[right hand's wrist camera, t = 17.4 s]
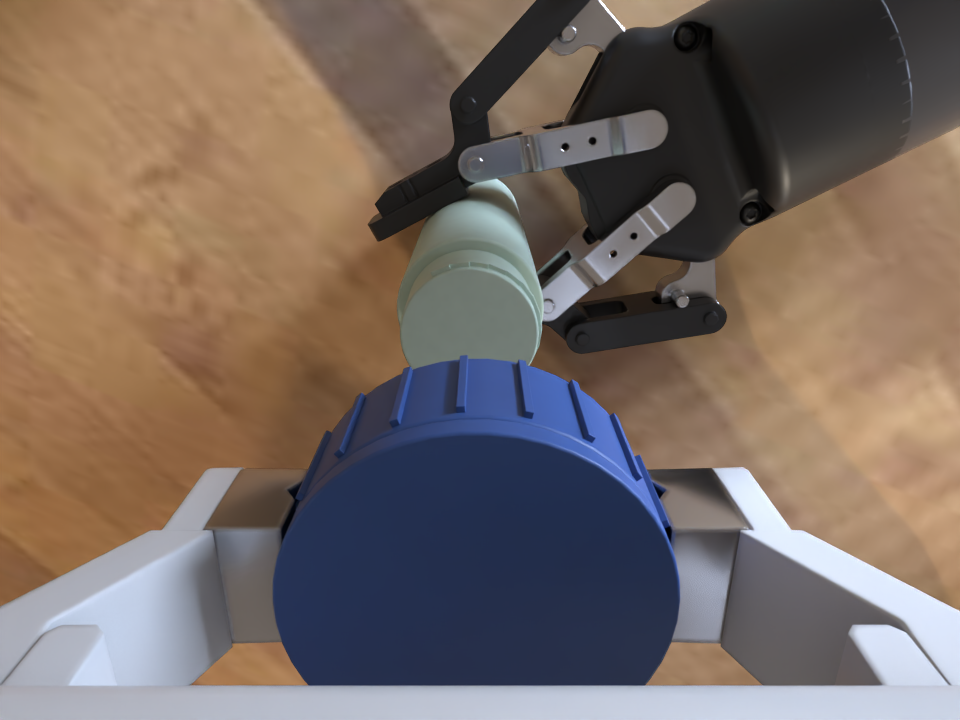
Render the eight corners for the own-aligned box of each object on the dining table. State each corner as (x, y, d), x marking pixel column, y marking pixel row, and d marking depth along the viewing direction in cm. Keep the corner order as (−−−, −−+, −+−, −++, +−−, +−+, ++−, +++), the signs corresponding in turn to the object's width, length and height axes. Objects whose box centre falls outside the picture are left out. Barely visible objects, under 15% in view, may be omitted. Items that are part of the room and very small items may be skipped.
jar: (531, 241, 31) (573, 376, 17) (451, 274, 32) (428, 430, 18) (499, 157, 30) (515, 229, 16) (415, 193, 30) (359, 293, 16)
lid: (457, 279, 9) (450, 336, 7) (714, 494, 10) (773, 597, 8) (244, 521, 10) (186, 629, 8) (492, 683, 12) (494, 812, 9)
